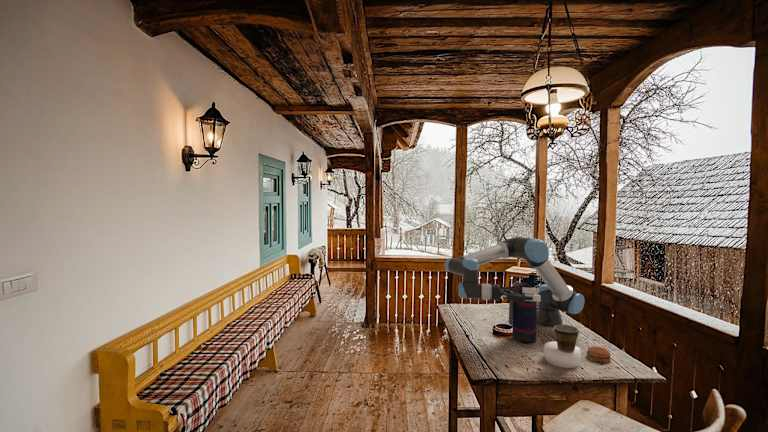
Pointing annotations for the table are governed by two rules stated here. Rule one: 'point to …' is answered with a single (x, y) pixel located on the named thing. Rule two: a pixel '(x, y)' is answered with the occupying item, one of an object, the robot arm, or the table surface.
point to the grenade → (523, 317)
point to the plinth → (562, 356)
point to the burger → (598, 354)
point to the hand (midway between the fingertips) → (538, 294)
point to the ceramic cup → (566, 337)
